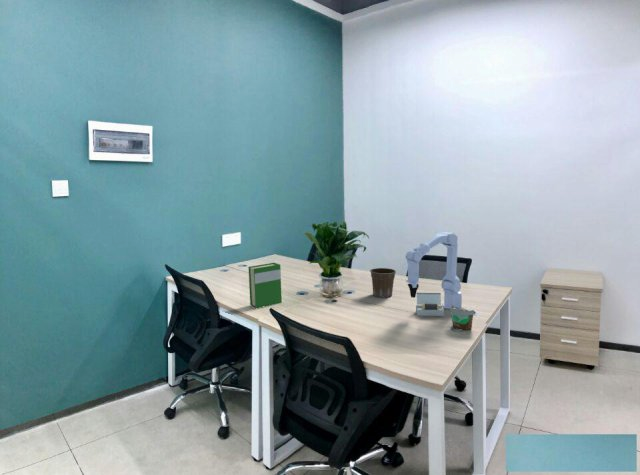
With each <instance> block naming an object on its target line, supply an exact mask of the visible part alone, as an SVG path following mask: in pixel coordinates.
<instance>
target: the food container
mask: <svg viewBox="0 0 640 475" xmlns="http://www.w3.org/2000/svg"><path fill="white" fill-rule="evenodd" d="M449 311H450V312H451V320H452V321H451V322H452V327H453V328H454V329H456V328H457V329H456V330H459V329H462V330H461V331H471V330H472V326H473V320H474V316H475V311H474V309H473V310H468V309H467V308H464V307H463V308H462V307H461V308H456V307H453V305H452V306H451V309H449Z"/></svg>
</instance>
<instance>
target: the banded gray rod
mask: <svg viewBox="0 0 640 475" xmlns="http://www.w3.org/2000/svg"><path fill="white" fill-rule="evenodd" d="M439 306H440V305H439V304H423V309H437V310H439Z"/></svg>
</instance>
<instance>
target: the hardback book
mask: <svg viewBox="0 0 640 475" xmlns="http://www.w3.org/2000/svg"><path fill="white" fill-rule="evenodd" d="M281 275H282V273H281V264H279V263H277V262H271V263H264V264H257V265H252V266H248V283H249V284H248V285H249V286H248V288H249V306H250V305H253V307H255V309H256V308H257V309H260V308H259V307H261V308H264V307H263V306H265V307H269V306H273V305H274V306H275V305H278V304H282V276H281Z"/></svg>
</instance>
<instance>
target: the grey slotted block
mask: <svg viewBox="0 0 640 475" xmlns="http://www.w3.org/2000/svg"><path fill="white" fill-rule="evenodd" d="M415 313H416V315H417V317H445V308H443V305H439V310H437V309H423V305H417V304H416V305H415Z"/></svg>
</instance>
